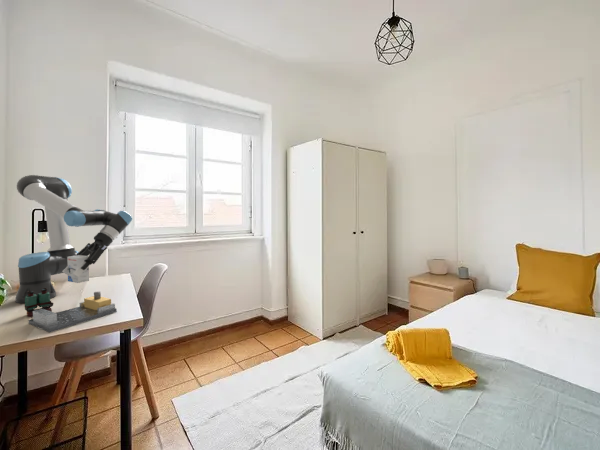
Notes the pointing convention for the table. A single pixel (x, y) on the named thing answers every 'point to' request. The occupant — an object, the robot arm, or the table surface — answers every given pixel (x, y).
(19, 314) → the table surface
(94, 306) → the press jaw
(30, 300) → the binoculars
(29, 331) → the table surface
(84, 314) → the press bed
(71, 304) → the table surface
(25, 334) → the table surface
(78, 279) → the ink box
